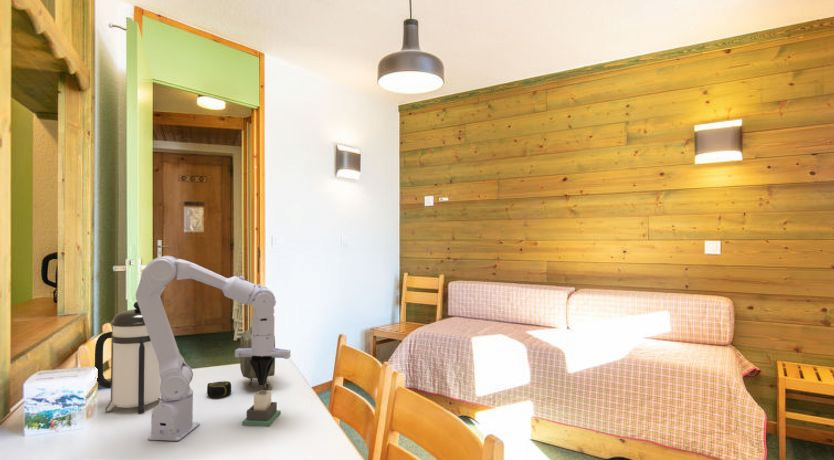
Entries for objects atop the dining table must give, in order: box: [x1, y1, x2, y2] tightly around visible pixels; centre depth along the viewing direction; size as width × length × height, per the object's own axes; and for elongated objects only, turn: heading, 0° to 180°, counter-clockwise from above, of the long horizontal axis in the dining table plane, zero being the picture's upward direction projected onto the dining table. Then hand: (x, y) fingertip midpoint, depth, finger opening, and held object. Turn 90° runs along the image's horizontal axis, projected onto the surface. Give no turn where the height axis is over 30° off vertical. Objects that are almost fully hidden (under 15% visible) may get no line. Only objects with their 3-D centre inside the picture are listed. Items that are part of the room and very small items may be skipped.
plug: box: [253, 389, 272, 411], centre depth 120 cm, size 4×3×7 cm
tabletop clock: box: [239, 325, 276, 390], centre depth 146 cm, size 14×9×25 cm, turn 27°
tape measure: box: [206, 380, 232, 398], centre depth 137 cm, size 7×7×4 cm
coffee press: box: [94, 301, 161, 415], centre depth 128 cm, size 17×16×30 cm
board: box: [241, 401, 282, 427], centre depth 120 cm, size 8×7×4 cm
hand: (262, 384), depth 120 cm, fingers closed
